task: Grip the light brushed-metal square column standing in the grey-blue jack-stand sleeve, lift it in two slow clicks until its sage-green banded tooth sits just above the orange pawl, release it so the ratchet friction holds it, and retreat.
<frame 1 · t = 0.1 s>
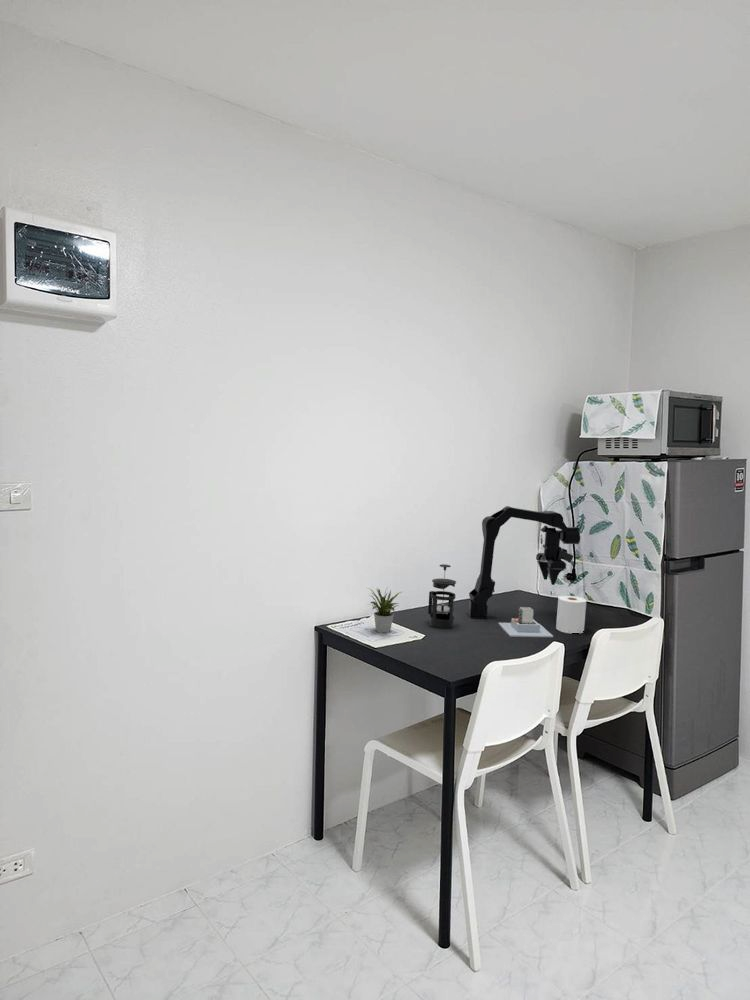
hand: (549, 582, 281), 15 cm above the table, fingers open, 9 cm apart
toilet paper: (569, 630, 267), on the table
house plant: (379, 631, 255), on the table
french press: (440, 625, 266), on the table
column: (525, 618, 263), point 5 cm above the table, slide at 0.0 cm
stand base: (525, 630, 264), on the table
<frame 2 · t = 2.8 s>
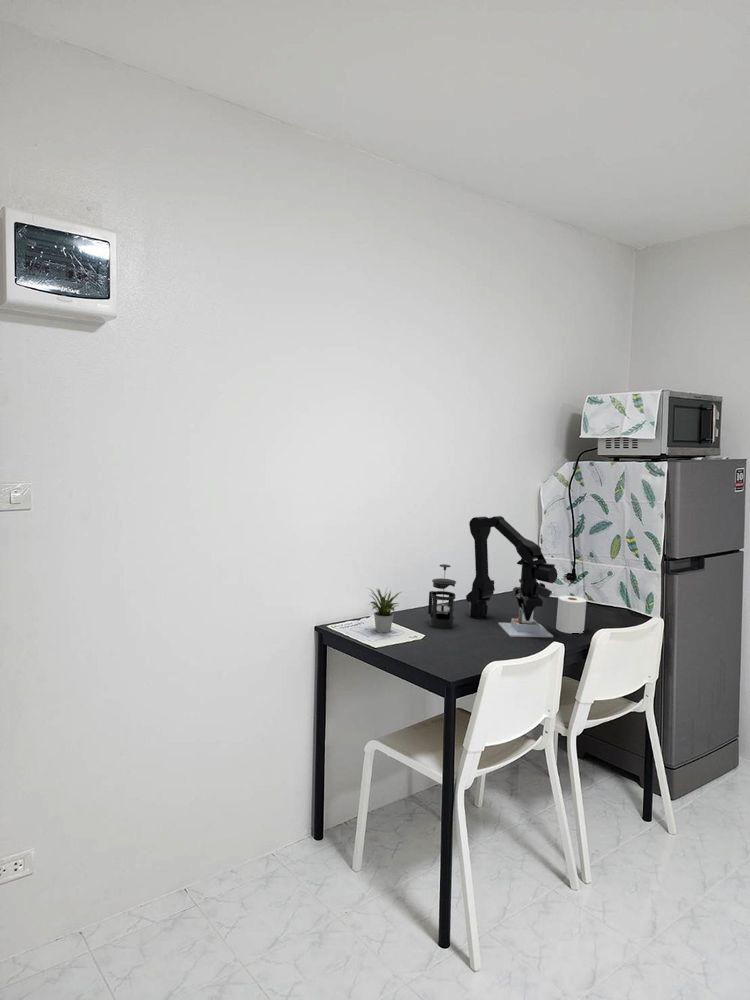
hand: (525, 619, 263), 4 cm above the table, fingers closed on column, 4 cm apart
column: (525, 618, 263), point 5 cm above the table, slide at 0.0 cm, touching gripper
everything else where it was.
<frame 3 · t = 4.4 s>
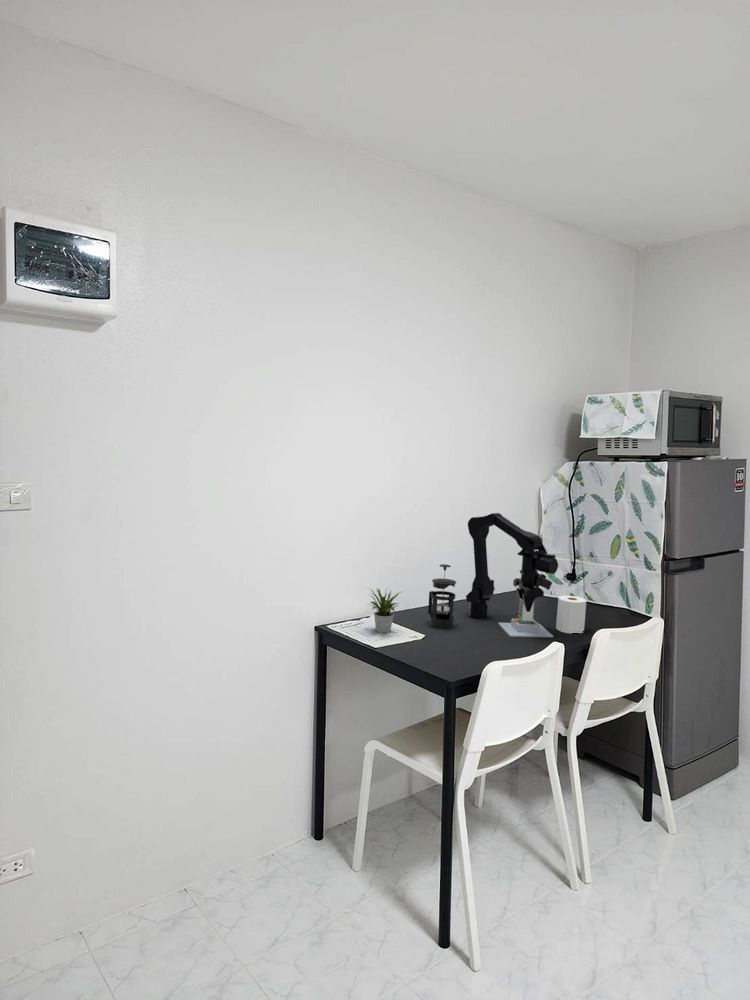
hand: (526, 610, 263), 8 cm above the table, fingers closed on column, 4 cm apart
column: (525, 609, 263), point 8 cm above the table, slide at 3.4 cm, touching gripper
everything else where it was.
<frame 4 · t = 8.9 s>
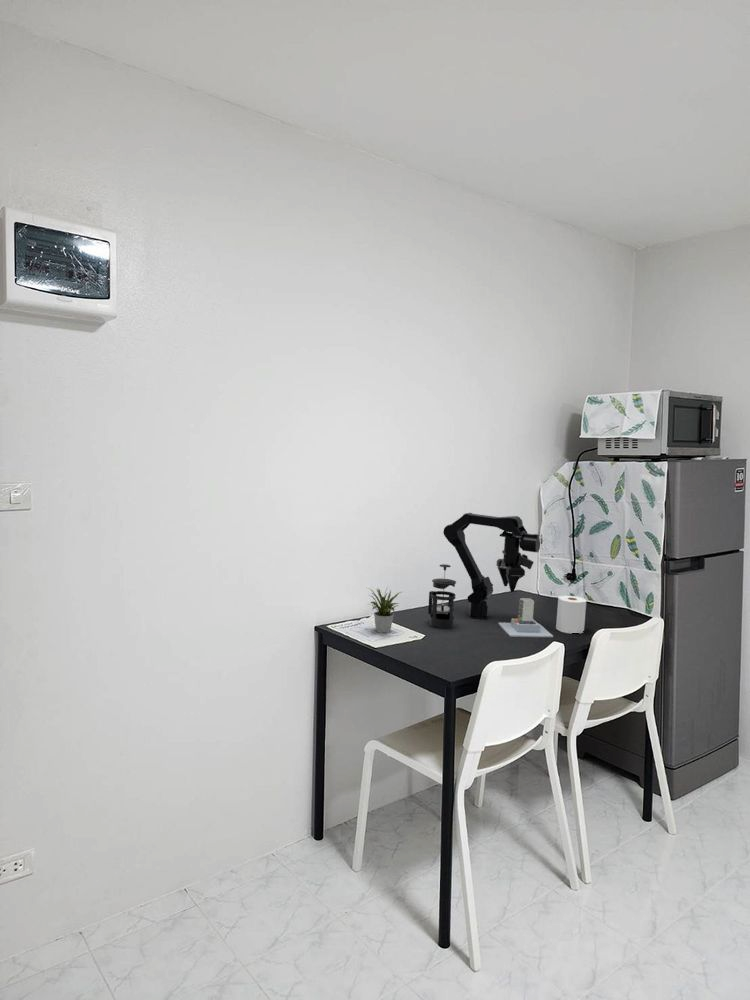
hand: (508, 589, 273), 13 cm above the table, fingers open, 9 cm apart
column: (525, 609, 263), point 8 cm above the table, slide at 3.4 cm
everything else where it was.
at the end: column slide at 3.4 cm; the gripper is holding nothing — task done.
